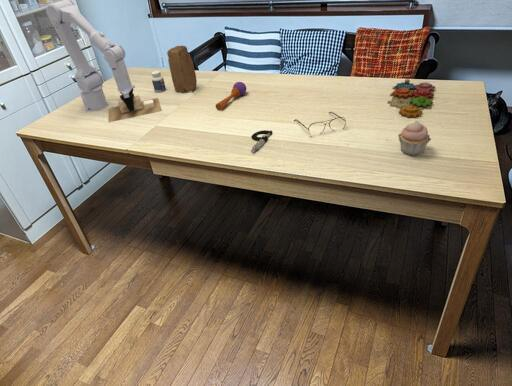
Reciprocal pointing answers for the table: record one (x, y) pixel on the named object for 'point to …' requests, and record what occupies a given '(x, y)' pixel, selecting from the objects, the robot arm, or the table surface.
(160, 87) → the pill bottle
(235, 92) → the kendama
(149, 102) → the eraser
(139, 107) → the sanding block
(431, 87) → the gear puzzle
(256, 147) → the micrometer
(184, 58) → the block
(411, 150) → the cupcake
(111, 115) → the board
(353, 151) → the table surface
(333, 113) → the glasses
